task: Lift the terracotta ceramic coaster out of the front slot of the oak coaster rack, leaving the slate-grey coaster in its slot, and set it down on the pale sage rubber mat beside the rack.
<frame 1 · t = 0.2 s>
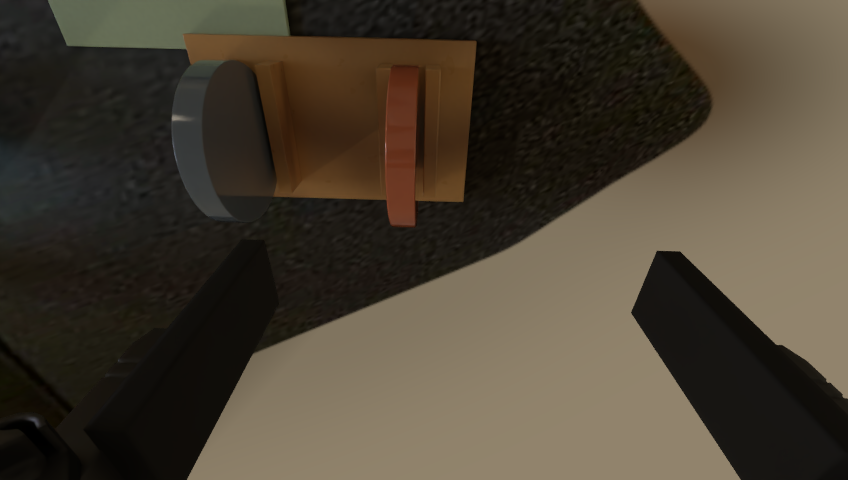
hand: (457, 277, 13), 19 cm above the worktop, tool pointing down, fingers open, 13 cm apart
terracotta coaster: (406, 149, 24), point 6 cm above the worktop, touching coaster rack
slate coaster: (236, 145, 24), point 6 cm above the worktop, touching coaster rack
coaster rack: (341, 123, 29), on the worktop
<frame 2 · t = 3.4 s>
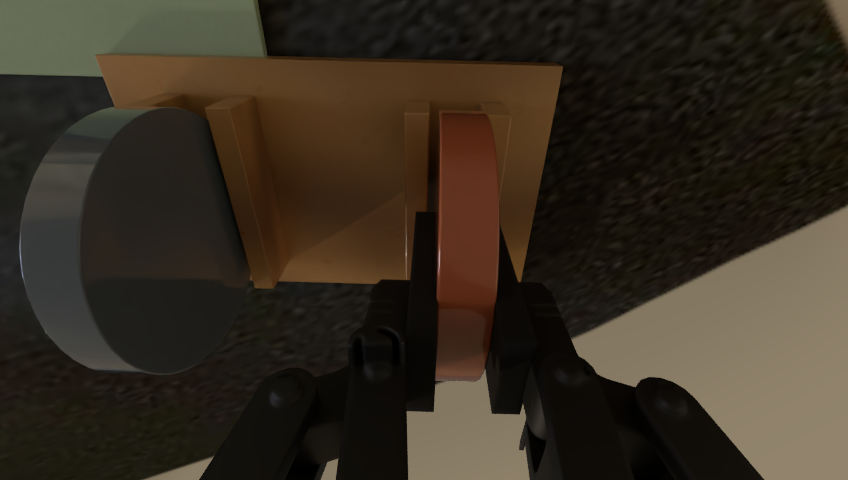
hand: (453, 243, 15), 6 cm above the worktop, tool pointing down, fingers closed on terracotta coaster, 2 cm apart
terracotta coaster: (454, 244, 15), point 6 cm above the worktop, touching coaster rack, gripper
slate coaster: (176, 240, 15), point 6 cm above the worktop, touching coaster rack
coaster rack: (346, 181, 20), on the worktop
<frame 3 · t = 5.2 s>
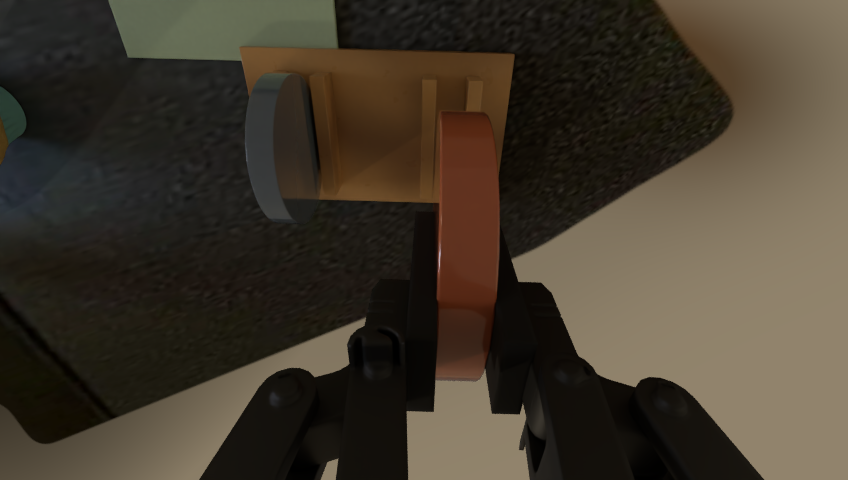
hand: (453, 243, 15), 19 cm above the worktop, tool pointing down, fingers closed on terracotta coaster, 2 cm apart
terracotta coaster: (454, 245, 15), point 19 cm above the worktop, touching gripper
slate coaster: (291, 151, 26), point 6 cm above the worktop, touching coaster rack
coaster rack: (381, 129, 31), on the worktop
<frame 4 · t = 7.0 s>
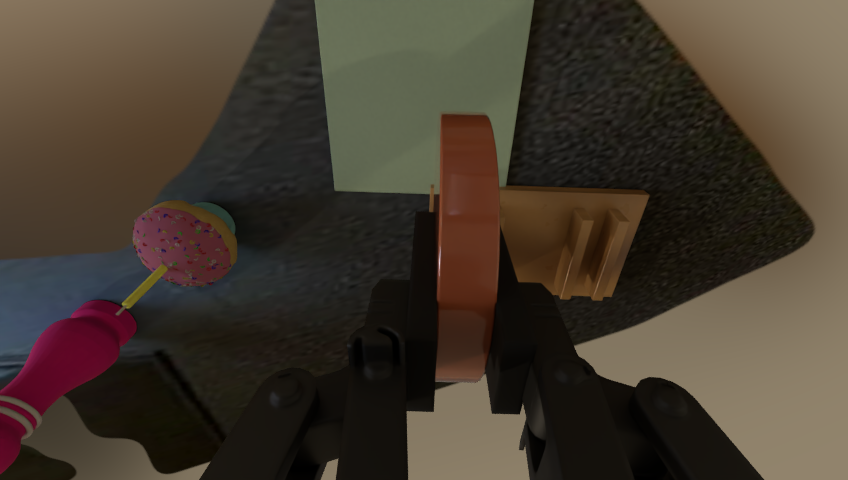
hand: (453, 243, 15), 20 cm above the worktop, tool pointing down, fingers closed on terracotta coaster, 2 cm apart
cupcake: (212, 220, 38), on the worktop
pepper mill: (111, 318, 45), on the worktop
terracotta coaster: (454, 245, 15), point 20 cm above the worktop, touching gripper
coaster rack: (526, 240, 38), on the worktop
sage mat: (421, 104, 31), on the worktop
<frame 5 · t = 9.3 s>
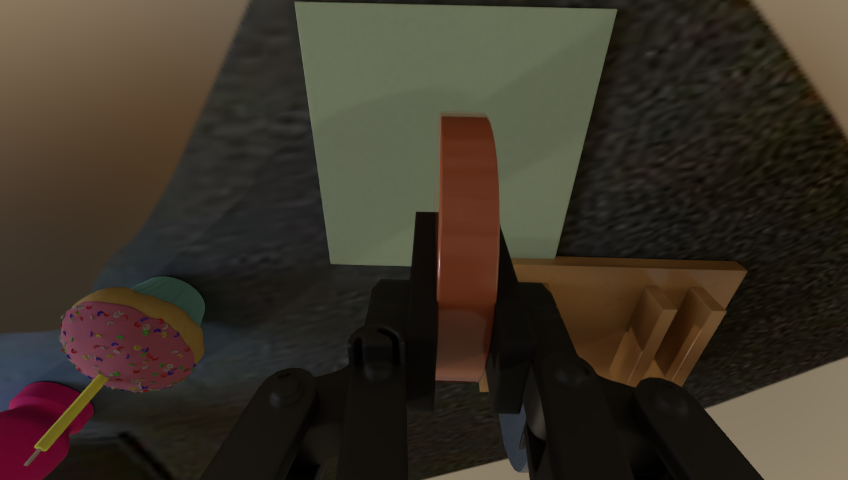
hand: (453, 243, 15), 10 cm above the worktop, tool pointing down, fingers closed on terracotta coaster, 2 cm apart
cupcake: (175, 296, 30), on the worktop
pepper mill: (62, 399, 37), on the worktop
terracotta coaster: (454, 245, 15), point 10 cm above the worktop, touching gripper
slate coaster: (522, 383, 25), point 6 cm above the worktop, touching coaster rack
coaster rack: (575, 318, 30), on the worktop
sage mat: (446, 158, 23), on the worktop
when the fingers open (5 cm above the worktop, at t = 10.6 s): terracotta coaster stays where it is, resting on sage mat.
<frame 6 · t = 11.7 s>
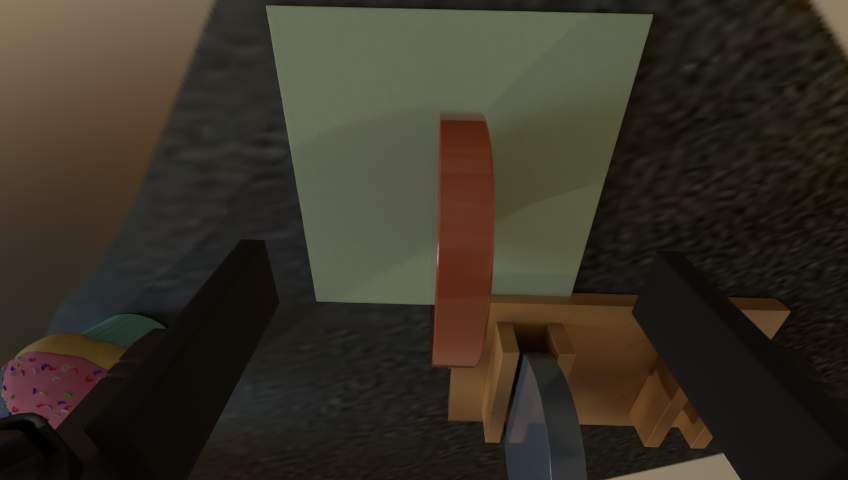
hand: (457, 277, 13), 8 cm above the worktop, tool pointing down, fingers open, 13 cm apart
cupcake: (143, 334, 26), on the worktop
terracotta coaster: (452, 239, 15), point 5 cm above the worktop, touching sage mat
slate coaster: (535, 442, 21), point 6 cm above the worktop, touching coaster rack
coaster rack: (592, 358, 27), on the worktop
sage mat: (448, 186, 20), on the worktop
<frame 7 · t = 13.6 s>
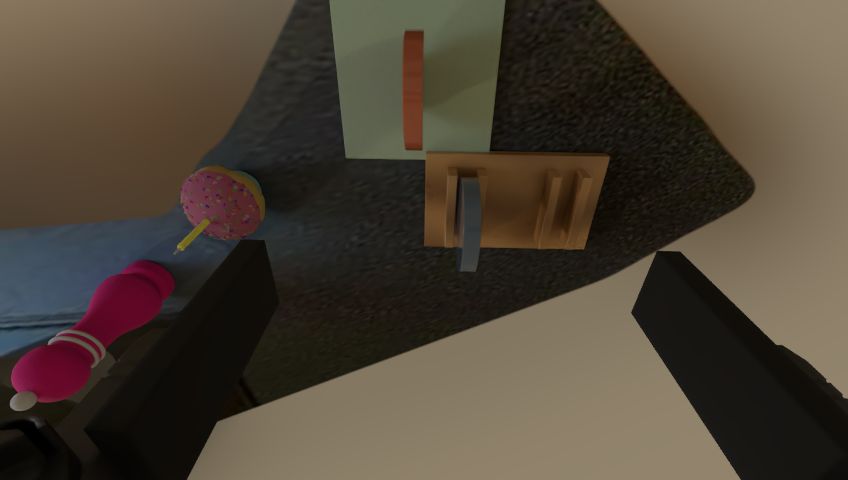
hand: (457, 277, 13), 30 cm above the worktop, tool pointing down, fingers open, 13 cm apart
cupcake: (241, 187, 44), on the worktop
pepper mill: (152, 277, 52), on the worktop
terracotta coaster: (414, 93, 33), point 5 cm above the worktop, touching sage mat
slate coaster: (466, 225, 39), point 6 cm above the worktop, touching coaster rack
coaster rack: (508, 200, 44), on the worktop
sage mat: (417, 82, 38), on the worktop
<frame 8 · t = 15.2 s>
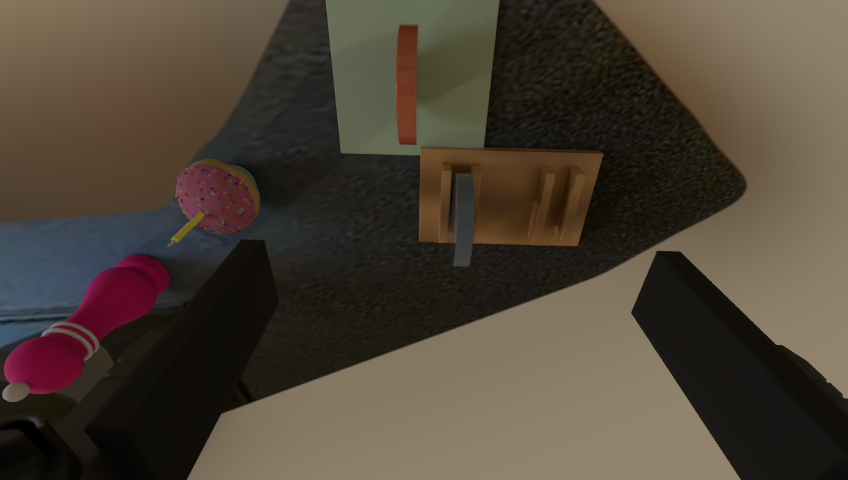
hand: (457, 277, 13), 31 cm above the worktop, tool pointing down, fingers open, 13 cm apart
cupcake: (237, 181, 45), on the worktop
pepper mill: (147, 271, 52), on the worktop
terracotta coaster: (409, 87, 33), point 5 cm above the worktop, touching sage mat
slate coaster: (460, 220, 40), point 6 cm above the worktop, touching coaster rack
coaster rack: (503, 196, 45), on the worktop
sage mat: (412, 77, 38), on the worktop
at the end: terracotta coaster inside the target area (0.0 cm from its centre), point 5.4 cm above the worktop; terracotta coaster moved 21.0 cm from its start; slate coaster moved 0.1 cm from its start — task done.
